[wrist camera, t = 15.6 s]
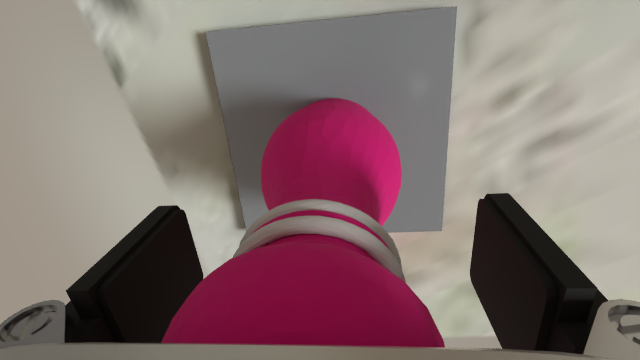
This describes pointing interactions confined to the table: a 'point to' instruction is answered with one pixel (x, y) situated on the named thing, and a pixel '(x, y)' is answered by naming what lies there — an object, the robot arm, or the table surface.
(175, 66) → the table surface
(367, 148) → the pepper mill
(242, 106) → the slate tile
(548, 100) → the table surface
